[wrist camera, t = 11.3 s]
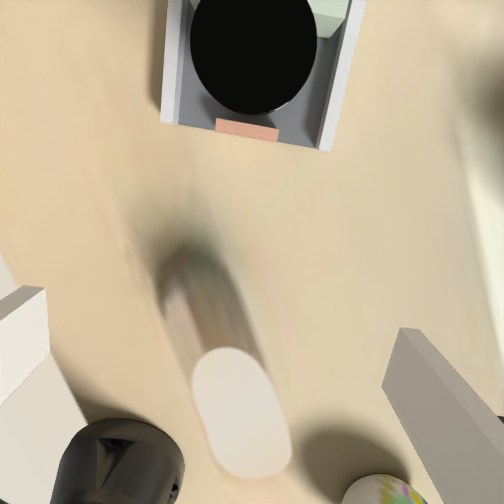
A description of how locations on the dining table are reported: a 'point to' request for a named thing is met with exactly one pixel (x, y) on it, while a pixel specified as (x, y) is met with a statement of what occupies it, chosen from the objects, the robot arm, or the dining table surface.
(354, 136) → the dining table surface
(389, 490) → the decorative egg
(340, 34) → the pusher lane
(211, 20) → the supplement container
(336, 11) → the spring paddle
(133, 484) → the robot arm
